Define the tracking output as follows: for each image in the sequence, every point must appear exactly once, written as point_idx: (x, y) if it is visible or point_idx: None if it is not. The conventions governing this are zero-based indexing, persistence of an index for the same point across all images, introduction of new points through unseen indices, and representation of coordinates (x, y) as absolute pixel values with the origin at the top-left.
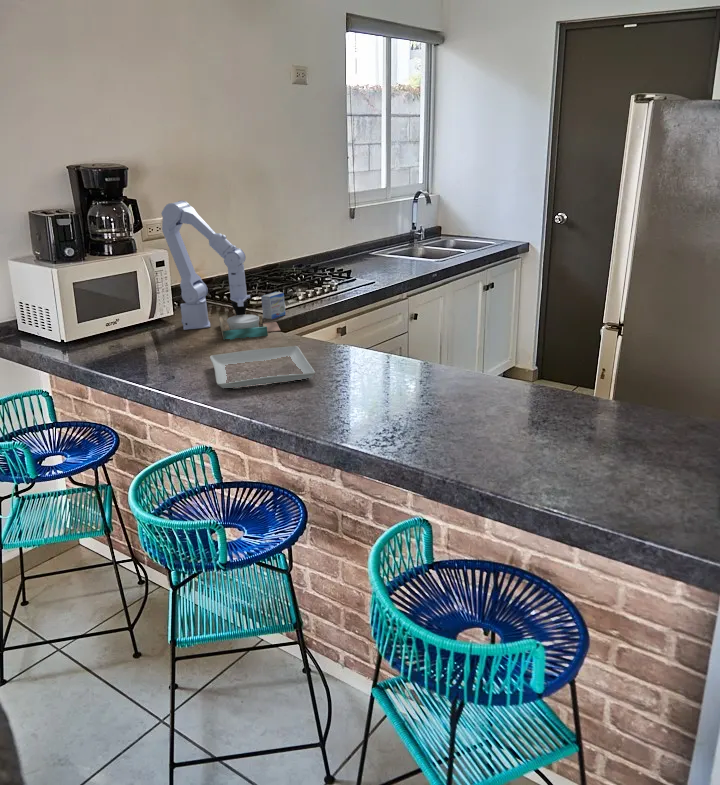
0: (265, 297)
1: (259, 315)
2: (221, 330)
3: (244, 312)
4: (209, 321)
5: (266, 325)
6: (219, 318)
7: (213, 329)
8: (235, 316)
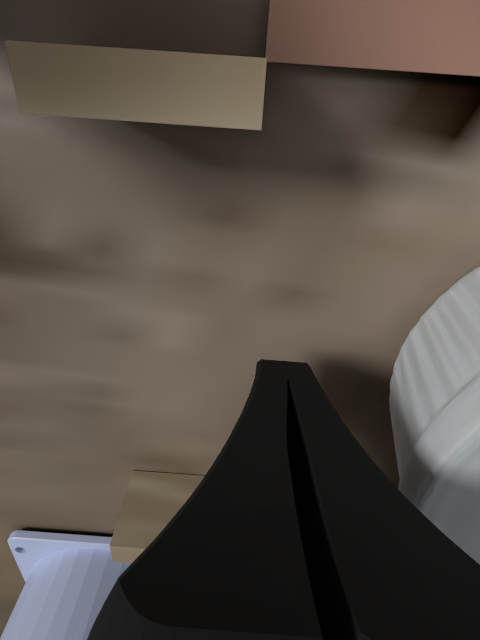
0: None
1: (200, 107)
2: None
3: (373, 473)
4: (27, 539)
5: (466, 13)
6: None
7: None
8: None
